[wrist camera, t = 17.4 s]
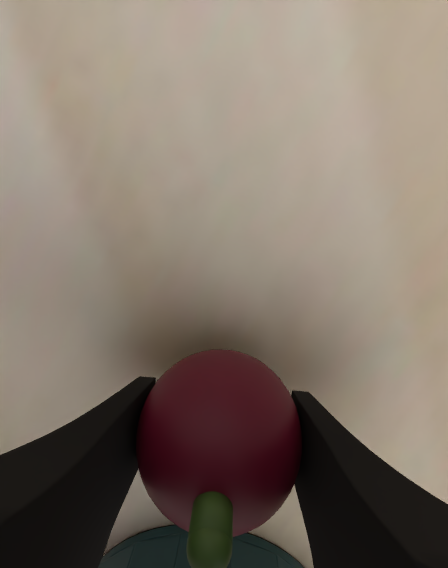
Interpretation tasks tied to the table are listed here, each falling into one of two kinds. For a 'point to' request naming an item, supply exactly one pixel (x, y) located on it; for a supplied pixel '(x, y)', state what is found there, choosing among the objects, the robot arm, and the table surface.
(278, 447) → the beet
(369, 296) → the table surface
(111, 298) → the table surface
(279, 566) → the pot
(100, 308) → the table surface
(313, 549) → the robot arm
